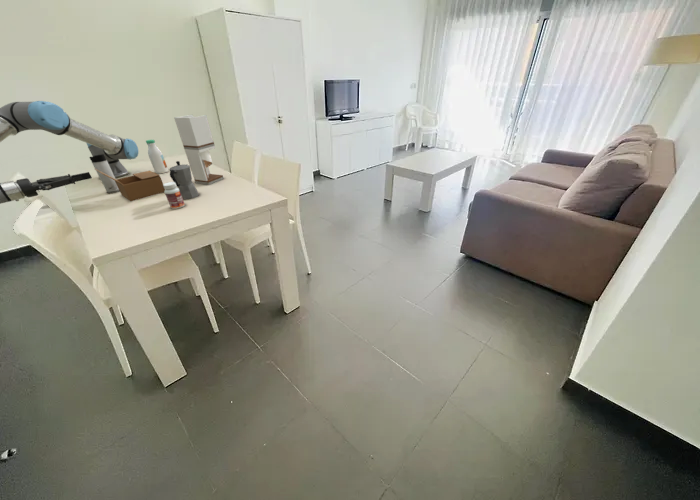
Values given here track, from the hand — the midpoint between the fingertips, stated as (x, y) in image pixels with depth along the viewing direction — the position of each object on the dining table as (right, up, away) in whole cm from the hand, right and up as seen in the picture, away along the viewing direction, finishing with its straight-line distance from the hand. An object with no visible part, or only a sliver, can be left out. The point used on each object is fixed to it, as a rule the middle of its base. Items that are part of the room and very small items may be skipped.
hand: (90, 175), depth 133 cm
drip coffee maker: (+39, +6, +35) cm, 53 cm away
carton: (+12, -5, +19) cm, 23 cm away
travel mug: (-8, -3, +23) cm, 24 cm away
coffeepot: (+39, -8, +13) cm, 42 cm away
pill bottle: (+40, -15, +3) cm, 43 cm away
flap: (+4, +1, +5) cm, 7 cm away
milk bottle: (-1, +16, +53) cm, 55 cm away
